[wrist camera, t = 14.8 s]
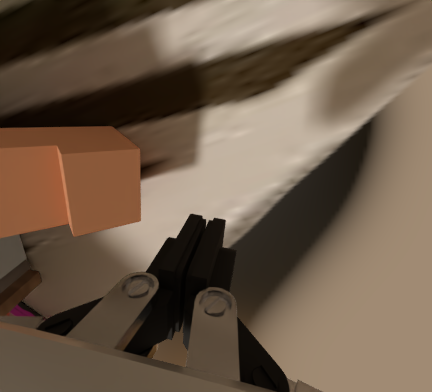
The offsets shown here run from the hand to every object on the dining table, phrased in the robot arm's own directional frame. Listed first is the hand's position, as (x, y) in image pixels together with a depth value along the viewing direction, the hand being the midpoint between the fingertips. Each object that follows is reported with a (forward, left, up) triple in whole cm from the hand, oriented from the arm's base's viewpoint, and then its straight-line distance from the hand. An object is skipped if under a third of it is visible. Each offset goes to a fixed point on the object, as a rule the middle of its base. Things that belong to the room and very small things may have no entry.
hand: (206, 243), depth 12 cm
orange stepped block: (-1, -13, -3) cm, 14 cm away
